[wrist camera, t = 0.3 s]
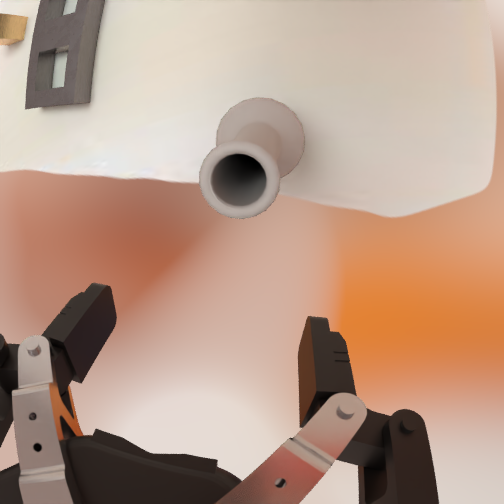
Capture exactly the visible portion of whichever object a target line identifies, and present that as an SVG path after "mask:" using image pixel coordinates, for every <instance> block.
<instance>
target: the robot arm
mask: <svg viewBox="0 0 504 504" xmlns="http://www.w3.org/2000/svg"><path fill="white" fill-rule="evenodd" d="M116 318H117V317H116V310H115V305H114V300H113V295H112V290H111V287H110V286H108V285H103V284H98V283H92V284H91V285H90V286H89V287H88V288H87V289H86V291H85V292H81V293H79V294H78V295H76V296H74V297H73V298H71V300H70V301H69V302H68V303H67V304H66V306H65V307H64V308H63V309H62V311H61V312H60V314H58V315H57V317H56V318H55V319H54V320H53V321H52V323H51V324H50V325H49V326H48V328H47V329H46V330H45V331H44V333H43V334H42V335H41V336H40V335H34V336H30V337H28V338H26V339H25V340H24V341H23V342H22V343H21V344H7V343H6V341H5V339H4V337H3V336H2V335H1V334H0V447H1V445H2V443H3V441H4V438H5V436H6V434H7V432H8V430H9V428H10V426H11V424H12V422H13V420H14V429H15V438H16V445H17V451H18V458H19V463H18V464H16V465H13V466H11V467H9V468H7V469H4V470H2V471H0V504H299V503H300V502H301V501H302V500H303V499H304V498H305V496H306V495H307V494H308V493H309V492H310V491H311V490H312V489H313V488H314V486H315V485H316V484H317V483H318V482H319V480H320V479H321V478H322V477H323V476H324V474H325V473H326V472H327V471H328V469H329V468H330V467H331V466H332V464H333V463H334V461H335V460H339V461H343V462H347V463H351V464H355V465H358V480H359V504H439V500H438V492H437V485H436V478H435V472H434V466H433V461H432V455H431V450H430V445H429V440H428V435H427V431H426V427H425V422H424V420H423V419H422V417H421V416H420V415H419V414H418V413H416V412H414V411H412V410H407V409H402V410H398V411H396V412H395V413H394V414H393V415H392V416H388V415H385V414H381V413H377V412H374V411H371V410H369V409H367V408H366V406H365V404H364V403H363V401H362V400H361V399H360V398H358V397H357V395H356V391H355V385H354V380H353V375H352V369H351V365H350V363H349V362H350V360H349V355H348V350H347V345H346V341H345V340H344V339H343V337H342V336H341V335H340V333H339V332H331V331H330V328H329V323H328V319H327V318H322V317H312V316H308V318H307V320H306V324H305V328H304V331H303V335H302V338H301V342H300V345H299V351H298V374H299V407H300V408H299V411H300V413H299V414H300V427H301V428H302V429H301V430H300V431H299V433H297V435H296V436H294V437H293V438H289V439H288V440H287V441H286V442H285V443H283V444H282V445H281V446H280V447H279V448H278V449H277V450H276V451H275V452H274V453H273V454H272V455H271V456H270V457H269V458H268V459H267V460H265V462H263V463H262V464H261V465H260V466H259V467H258V468H257V469H256V470H254V471H253V472H252V473H251V474H250V475H249V476H248V477H247V478H245V479H244V480H243V481H241V480H240V479H239V478H237V477H236V476H235V475H233V474H231V473H230V472H228V471H226V470H224V469H221V468H219V467H217V461H218V460H215V459H208V458H203V457H198V456H193V455H187V454H153V453H149V452H147V451H145V450H143V449H141V448H140V447H138V446H136V445H134V444H133V443H131V442H129V441H127V440H126V439H124V438H122V437H119V436H116V435H113V434H110V433H107V432H104V431H101V430H98V429H95V432H94V434H93V435H83V433H82V431H81V429H80V426H79V423H78V419H77V415H76V411H75V407H74V402H73V398H72V393H71V389H70V386H69V384H70V382H71V381H72V380H73V381H76V382H78V383H82V382H83V380H84V378H85V377H86V375H87V373H88V371H89V370H90V368H91V366H92V364H93V363H94V361H95V359H96V358H97V356H98V354H99V352H100V351H101V349H102V347H103V346H104V344H105V342H106V341H107V339H108V337H109V336H110V334H111V333H112V331H113V329H114V327H115V324H116Z"/></svg>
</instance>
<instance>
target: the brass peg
mask: <svg viewBox="0 0 504 504" xmlns="http://www.w3.org/2000/svg"><path fill="white" fill-rule="evenodd" d="M27 19H28V17H24V16H17V15H9V14H0V45H11V44H13V43H16V42H19V41H21V40H24V34H25V29H26V24H27Z"/></svg>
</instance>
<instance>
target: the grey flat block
mask: <svg viewBox="0 0 504 504" xmlns="http://www.w3.org/2000/svg"><path fill="white" fill-rule="evenodd" d="M65 1H66V0H41V1H40V5H39V9H38V14H37V18H36V23H35V28H34V33H33V39H32V45H31V51H30V59H29V67H28V76H27V88H26V104H25V109H31V108H38V107H46V106H55V105H66V104H77V103H87V102H90V96H91V84H92V74H93V66H94V58H95V51H96V44H97V38H98V32H99V27H100V21H101V16H102V11H103V7H104V2H105V0H78V2H77V6H76V11H75V13H71V14H67V15H64V16H62V14H63V9H64V5H65ZM65 51H68V56H67V63H66V72H65V82H64V87H60V88H53V89H52V78H53V68H54V60H55V54H56V53H60V52H65Z"/></svg>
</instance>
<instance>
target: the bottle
mask: <svg viewBox="0 0 504 504" xmlns="http://www.w3.org/2000/svg"><path fill="white" fill-rule="evenodd" d="M304 142H305V137H304V132H303V128H302V124H301V123H300V121H299V119H298V118H297V116H296V115H295V113H294V112H293V111H292V110H290V109H289V108H288V107H287V106H286V105H284V104H283V103H280V102H278V101H275V100H273V99H269V98H252V99H248V100H244V101H242V102H240V103H238V104H237V105H235V106H233V107H232V108H230V109H229V111H228V112H227V113H226V114H225V115H224V117H223V118H222V119H221V122H220V124H219V127H218V129H217V137H216V146H217V147H216V148H214V149H213V150H211V151H210V153H209V154H208V155H207V157H206V158H205V159H204V161H203V163H202V166H201V169H200V172H199V185H200V188H201V191H202V194H203V196H204V198H205V199H206V201H207V202H208V204H209V205H210V206H211V207H212V208H213V209H215V210H216V211H217V212H218V213H220V214H222V215H225V216H227V217H230V218H239V219H244V218H250V217H254V216H257V215H258V214H260V213H262V212H264V211H266V209H267V208H268V207H269V206H270V205H271V204H272V203H273V202H274V200H275V198H276V196H277V194H278V192H279V188H280V178H282V177H284V176H285V175H287V174H289V173H290V172H291V171H292V170H293V169H294V167H295V166H296V165H297V164H298V162H299V160H300V158H301V156H302V154H303V151H304Z"/></svg>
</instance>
